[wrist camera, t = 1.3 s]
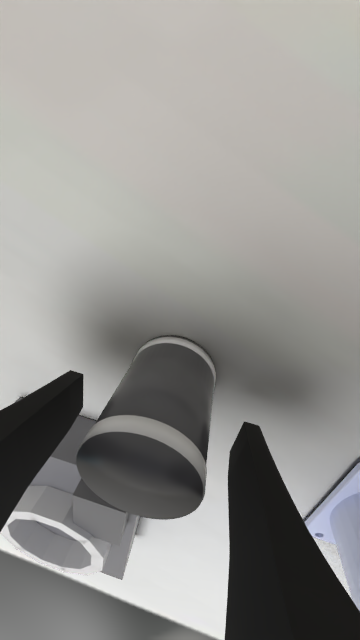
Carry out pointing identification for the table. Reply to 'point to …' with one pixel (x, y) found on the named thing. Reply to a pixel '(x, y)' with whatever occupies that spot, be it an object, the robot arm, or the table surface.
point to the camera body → (70, 517)
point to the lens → (154, 433)
